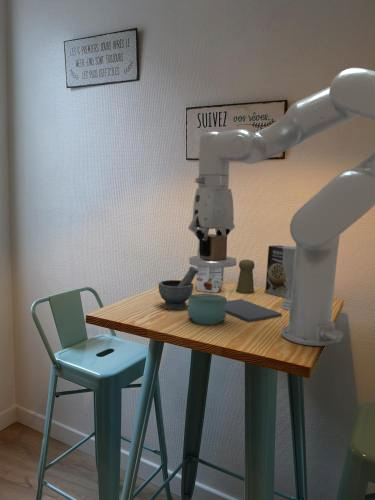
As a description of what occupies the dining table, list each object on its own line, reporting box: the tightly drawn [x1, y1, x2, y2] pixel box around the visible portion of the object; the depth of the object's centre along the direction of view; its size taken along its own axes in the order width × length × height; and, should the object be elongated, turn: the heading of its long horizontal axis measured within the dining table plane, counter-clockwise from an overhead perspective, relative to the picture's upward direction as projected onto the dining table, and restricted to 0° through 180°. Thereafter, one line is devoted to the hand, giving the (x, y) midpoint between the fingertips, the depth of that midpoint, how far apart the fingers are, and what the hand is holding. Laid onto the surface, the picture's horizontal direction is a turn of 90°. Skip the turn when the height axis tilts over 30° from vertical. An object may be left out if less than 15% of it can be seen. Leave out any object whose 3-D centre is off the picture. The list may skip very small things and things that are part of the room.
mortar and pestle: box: [158, 265, 198, 311], centre depth 124 cm, size 11×9×12 cm
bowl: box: [187, 293, 228, 326], centre depth 113 cm, size 10×10×6 cm
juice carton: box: [195, 240, 225, 294], centre depth 145 cm, size 8×9×19 cm
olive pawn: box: [236, 259, 255, 295], centre depth 146 cm, size 6×6×11 cm
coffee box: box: [265, 245, 290, 299], centre depth 144 cm, size 9×6×16 cm
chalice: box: [280, 245, 296, 311], centre depth 128 cm, size 7×7×18 cm
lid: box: [188, 233, 237, 268], centre depth 110 cm, size 12×12×7 cm
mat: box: [226, 299, 283, 323], centre depth 123 cm, size 17×12×1 cm
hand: (211, 254), depth 110 cm, fingers closed on lid, 4 cm apart
